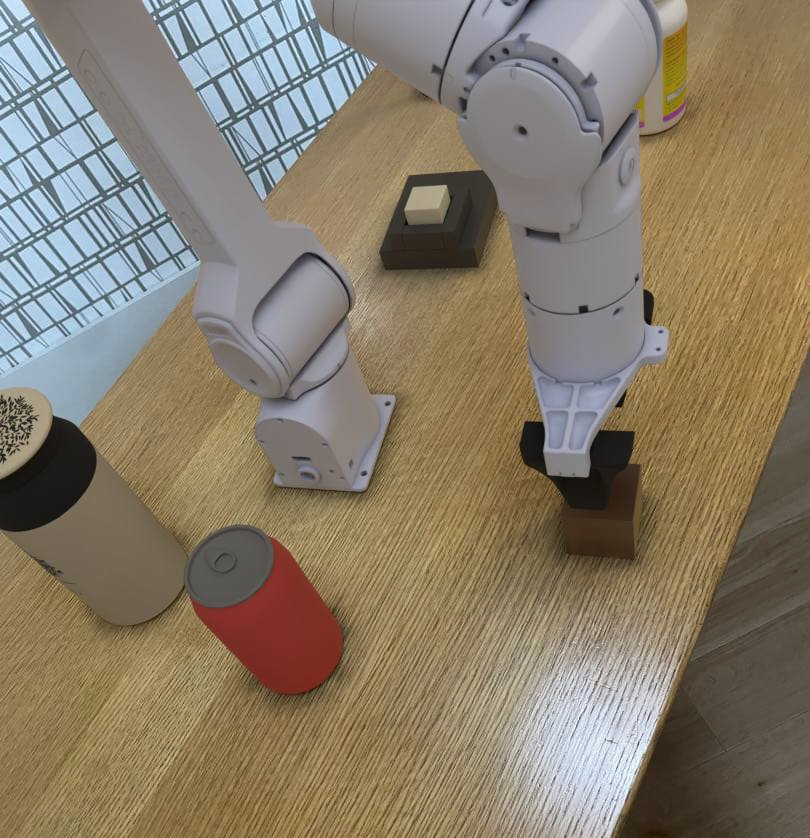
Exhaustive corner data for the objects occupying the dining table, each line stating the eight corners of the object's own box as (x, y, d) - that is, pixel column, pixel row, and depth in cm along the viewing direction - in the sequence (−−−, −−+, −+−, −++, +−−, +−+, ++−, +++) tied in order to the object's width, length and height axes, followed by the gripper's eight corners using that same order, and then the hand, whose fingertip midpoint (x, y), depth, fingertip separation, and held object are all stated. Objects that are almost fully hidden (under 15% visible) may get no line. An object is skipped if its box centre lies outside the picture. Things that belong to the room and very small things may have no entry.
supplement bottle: (682, 91, 81) (686, -56, 71) (688, 131, 78) (693, -18, 67) (611, 104, 83) (604, -38, 73) (614, 144, 79) (607, 0, 69)
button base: (478, 268, 75) (470, 230, 72) (384, 271, 78) (372, 235, 75) (502, 188, 80) (495, 150, 77) (413, 194, 83) (403, 157, 80)
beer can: (298, 595, 60) (229, 499, 51) (365, 639, 57) (304, 545, 47) (237, 666, 58) (152, 581, 49) (302, 716, 55) (225, 635, 45)
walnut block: (635, 559, 55) (633, 522, 52) (566, 554, 57) (560, 516, 53) (642, 503, 57) (641, 463, 54) (576, 499, 59) (571, 460, 55)
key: (442, 225, 74) (438, 208, 72) (408, 226, 75) (403, 210, 73) (450, 201, 75) (446, 184, 74) (417, 203, 76) (412, 186, 75)
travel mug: (167, 520, 68) (32, 362, 53) (206, 585, 63) (69, 432, 48) (82, 577, 67) (-80, 432, 52) (115, 647, 62) (-53, 510, 47)
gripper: (651, 390, 34) (654, 561, 45) (682, 168, 41) (678, 363, 52) (484, 387, 37) (525, 550, 48) (540, 178, 44) (565, 361, 55)
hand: (597, 452), depth 50 cm, fingers open, 7 cm apart
